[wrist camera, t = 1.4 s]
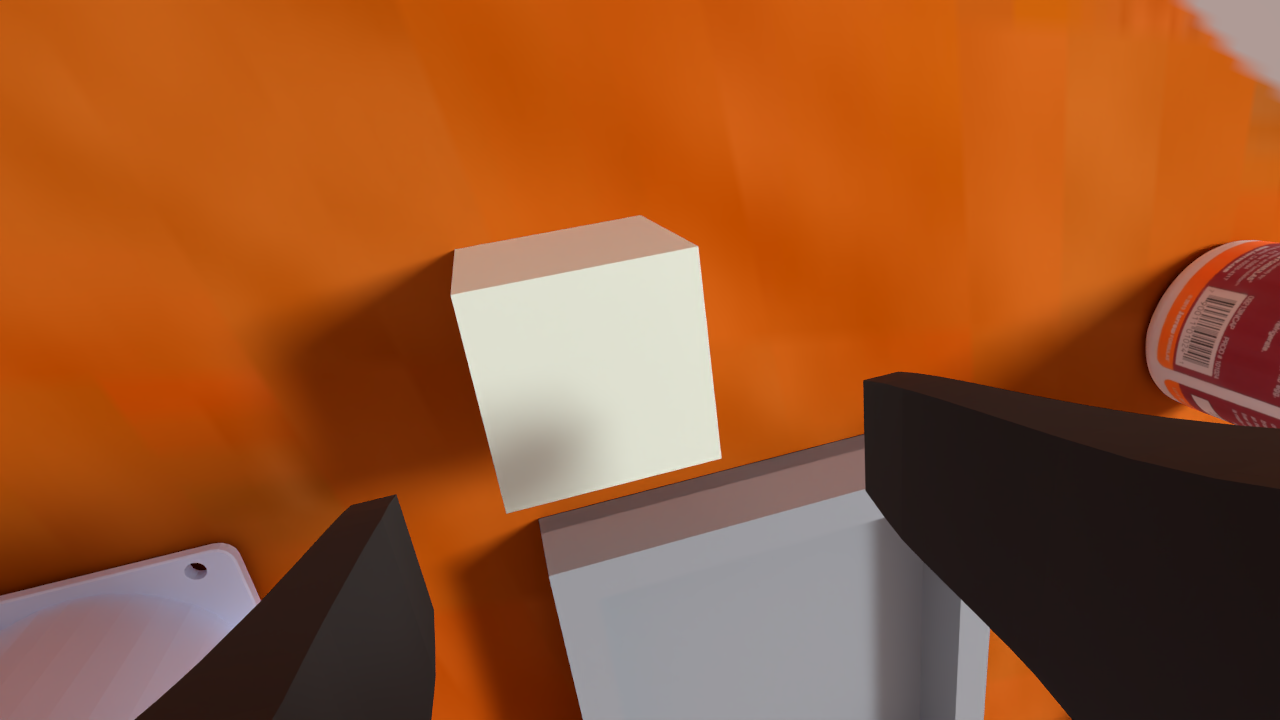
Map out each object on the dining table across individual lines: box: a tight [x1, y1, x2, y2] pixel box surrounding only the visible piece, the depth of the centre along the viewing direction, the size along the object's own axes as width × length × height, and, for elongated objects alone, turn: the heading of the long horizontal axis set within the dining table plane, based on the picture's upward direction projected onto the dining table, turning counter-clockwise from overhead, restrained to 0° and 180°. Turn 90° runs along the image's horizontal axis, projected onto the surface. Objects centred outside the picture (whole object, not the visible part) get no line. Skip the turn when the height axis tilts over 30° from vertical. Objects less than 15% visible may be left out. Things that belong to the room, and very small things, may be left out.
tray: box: [539, 434, 990, 720], centre depth 23 cm, size 14×16×3 cm
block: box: [451, 215, 721, 514], centre depth 16 cm, size 5×5×5 cm
